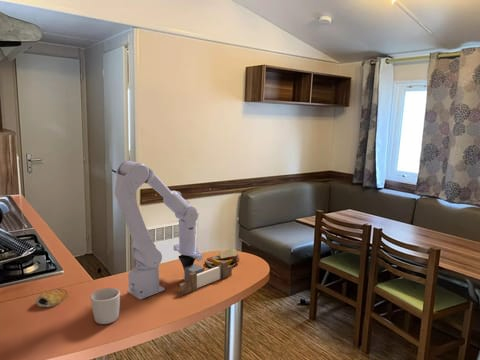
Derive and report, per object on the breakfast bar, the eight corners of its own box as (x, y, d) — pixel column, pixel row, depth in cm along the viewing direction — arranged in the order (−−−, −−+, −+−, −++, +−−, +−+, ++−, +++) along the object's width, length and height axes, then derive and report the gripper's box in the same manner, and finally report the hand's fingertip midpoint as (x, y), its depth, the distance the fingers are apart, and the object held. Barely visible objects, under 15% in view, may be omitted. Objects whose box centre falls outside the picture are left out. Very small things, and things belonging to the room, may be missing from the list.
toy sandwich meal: (206, 257, 154) (206, 247, 153) (239, 257, 154) (239, 247, 153) (204, 270, 142) (204, 258, 141) (239, 270, 142) (239, 258, 141)
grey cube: (193, 285, 129) (193, 272, 128) (184, 280, 132) (184, 267, 131) (204, 281, 132) (204, 267, 131) (195, 276, 136) (195, 263, 135)
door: (196, 288, 126) (196, 274, 125) (194, 287, 127) (194, 273, 126) (221, 278, 134) (221, 265, 133) (219, 277, 135) (219, 264, 134)
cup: (83, 315, 109) (81, 290, 108) (109, 306, 115) (108, 281, 113) (99, 330, 102) (97, 303, 100) (126, 319, 107) (125, 294, 106)
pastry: (56, 292, 123) (55, 282, 123) (73, 295, 122) (72, 284, 121) (33, 306, 115) (32, 295, 114) (51, 310, 113) (50, 298, 112)
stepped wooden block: (182, 295, 121) (182, 278, 120) (178, 293, 123) (178, 276, 122) (232, 275, 137) (232, 260, 136) (228, 273, 138) (228, 258, 137)
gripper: (209, 240, 130) (209, 276, 132) (184, 230, 140) (184, 264, 142) (193, 245, 125) (193, 283, 127) (168, 235, 135) (169, 270, 137)
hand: (188, 273), depth 134 cm, fingers closed
